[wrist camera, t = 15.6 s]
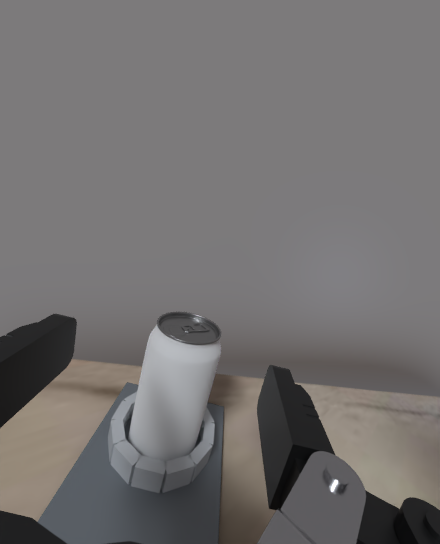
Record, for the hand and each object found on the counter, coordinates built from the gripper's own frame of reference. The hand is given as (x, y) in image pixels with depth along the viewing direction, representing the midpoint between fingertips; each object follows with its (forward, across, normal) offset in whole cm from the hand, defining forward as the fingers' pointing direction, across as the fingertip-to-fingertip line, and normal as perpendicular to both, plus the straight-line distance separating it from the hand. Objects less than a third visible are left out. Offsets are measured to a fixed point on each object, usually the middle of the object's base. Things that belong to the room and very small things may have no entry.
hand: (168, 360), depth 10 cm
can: (+11, 0, +16) cm, 19 cm away
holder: (+8, +1, +16) cm, 18 cm away
